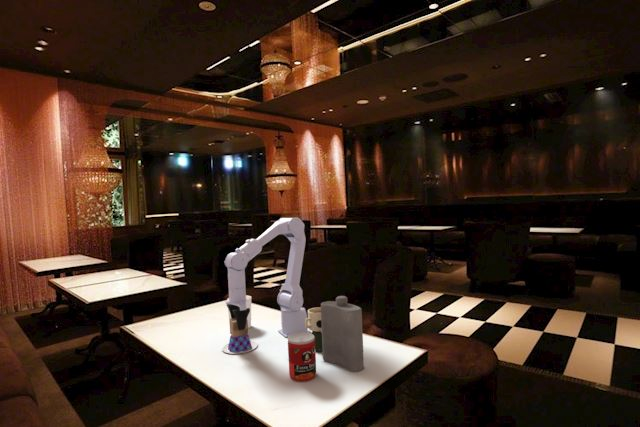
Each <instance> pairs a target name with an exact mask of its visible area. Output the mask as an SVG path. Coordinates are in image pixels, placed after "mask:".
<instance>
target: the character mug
mask: <svg viewBox="0 0 640 427" xmlns="http://www.w3.org/2000/svg"><path fill="white" fill-rule="evenodd" d="M305 327H306V328H308V331H311V334H313V335H314V337H315V351H323V347H322V324H321V306H320V307H312V308H308V309H307V318H306V319H305Z"/></svg>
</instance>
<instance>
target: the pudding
mask: <svg viewBox="0 0 640 427" xmlns="http://www.w3.org/2000/svg"><path fill="white" fill-rule="evenodd" d="M228 341H229V342H228V343H227V344H225V345H224V346H223V347H222V348H221V350H222V352H224V353H226V354H231V355H232V354H235V355H237V354H239V353H240V354H246V353H249V352H250V351H253V350H255V349H256V348H257V347H258V342H256V341H254V340H251V339H250V336H249V333H248V334H247V335H242V336H237V337H233V336H232V335H231V334H230V337H229V340H228Z"/></svg>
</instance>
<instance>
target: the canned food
mask: <svg viewBox="0 0 640 427" xmlns="http://www.w3.org/2000/svg"><path fill="white" fill-rule="evenodd" d="M287 351H288V368H289V369H288V371H289V372H288V374H289V376H290V377H289V378H290V379H291V380H292V381H294V382H298V383H299V382H301V383H304V382H309V381H311V380H313V379H314V378H315V377H316V374H317V361H316V360H317V358H316V350H315V337H314V335H313V334H312V332H311V333H310V332H308V333H306V332H301V333H295V334H292V335H290V336H289V337H287Z"/></svg>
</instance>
